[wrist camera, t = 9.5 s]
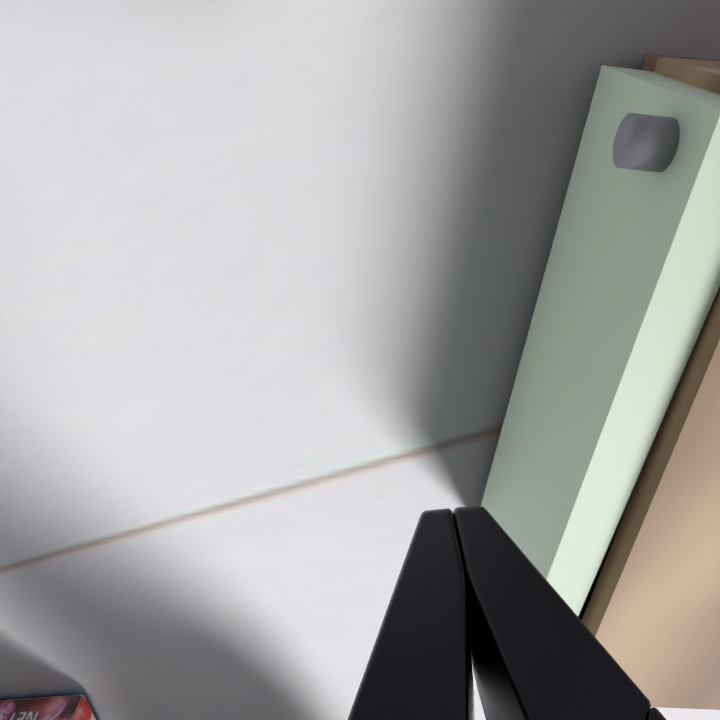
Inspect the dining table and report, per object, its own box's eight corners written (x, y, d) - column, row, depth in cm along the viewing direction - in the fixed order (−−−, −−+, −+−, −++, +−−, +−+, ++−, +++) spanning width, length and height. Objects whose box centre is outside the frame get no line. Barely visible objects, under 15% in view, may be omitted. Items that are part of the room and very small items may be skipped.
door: (451, 532, 24) (478, 687, 19) (569, 61, 16) (674, 104, 11) (507, 536, 24) (549, 690, 19) (653, 71, 16) (796, 118, 11)
